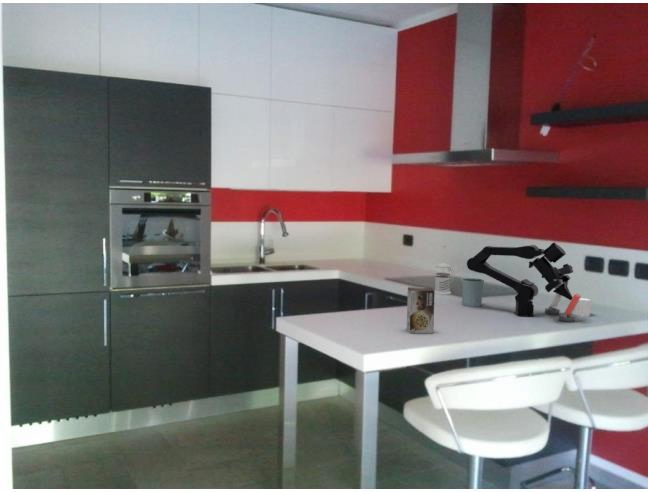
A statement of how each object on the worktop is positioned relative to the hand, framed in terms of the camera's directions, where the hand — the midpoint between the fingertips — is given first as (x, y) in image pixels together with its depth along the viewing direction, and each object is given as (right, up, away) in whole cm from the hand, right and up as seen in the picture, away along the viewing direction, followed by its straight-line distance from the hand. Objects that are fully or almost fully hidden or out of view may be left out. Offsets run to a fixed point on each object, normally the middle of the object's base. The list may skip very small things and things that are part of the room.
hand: (571, 299), depth 246 cm
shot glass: (+11, -8, +15) cm, 21 cm away
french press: (-39, -2, +67) cm, 78 cm away
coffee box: (-66, -10, -23) cm, 71 cm away
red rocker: (-2, -7, +1) cm, 7 cm away
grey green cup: (-33, -6, +32) cm, 47 cm away
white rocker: (-2, -6, +16) cm, 17 cm away
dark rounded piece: (-2, -9, +2) cm, 9 cm away
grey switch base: (-2, -8, +16) cm, 18 cm away
